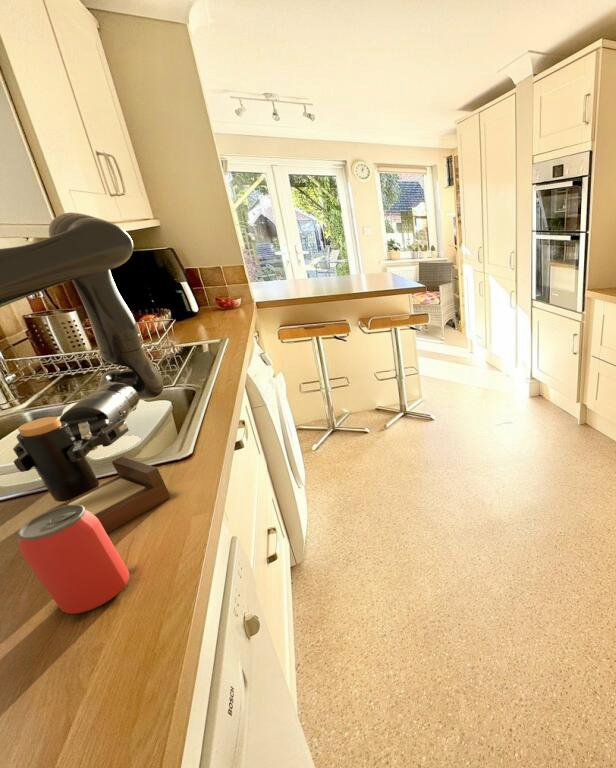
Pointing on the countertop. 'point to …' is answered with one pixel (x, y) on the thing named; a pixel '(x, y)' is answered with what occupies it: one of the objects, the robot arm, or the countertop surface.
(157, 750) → the countertop surface
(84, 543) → the beer can
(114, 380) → the robot arm
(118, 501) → the brown wooden stand
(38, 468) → the black canister
